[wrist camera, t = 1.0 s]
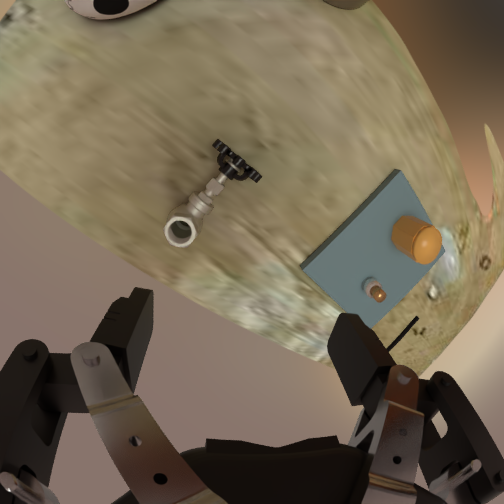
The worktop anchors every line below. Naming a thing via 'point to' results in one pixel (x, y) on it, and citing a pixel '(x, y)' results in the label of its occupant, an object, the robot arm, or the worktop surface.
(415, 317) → the black thin rod
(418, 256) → the cap
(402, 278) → the board
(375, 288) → the peg
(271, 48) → the worktop surface
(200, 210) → the valve
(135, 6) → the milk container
